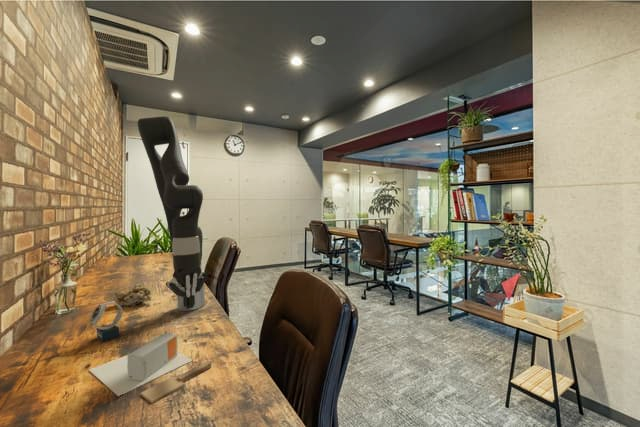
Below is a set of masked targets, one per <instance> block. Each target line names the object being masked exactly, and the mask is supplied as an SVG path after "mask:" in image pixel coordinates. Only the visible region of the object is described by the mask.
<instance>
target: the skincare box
mask: <svg viewBox="0 0 640 427" xmlns="http://www.w3.org/2000/svg"><path fill="white" fill-rule="evenodd" d="M177 352H178V334H176V333H162V334H160V335H159V336H157V337H155V338H153V339H152V340H151V341H148V342H147V343H145V344H144V345H142V346H140V347H138V348H137V349H135V350H134V351H131V352H130V353H129V354H127V355H128V364H127V369H128V380H136V381H144V380H145V379H146V378H148V377H149V376H150V375H152V374H153V373H154V372H156V371H157V370H158V369H160V368H161V367H163V366H164V365H165V364H167V363H168V362H169V361H171V360H172V359H173V358H175V357H176V356H177Z"/></svg>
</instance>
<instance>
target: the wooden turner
mask: <svg viewBox="0 0 640 427" xmlns="http://www.w3.org/2000/svg"><path fill="white" fill-rule="evenodd" d="M211 367H212V362H210V361H209V360H208V361H205V362H203V363H201V364H199V365H197V366H195V367H193V368H191V369H190V370H187V371H186V372H184V373H182V374H180V375H178V376H175V377H174V376H171V377H169V378H167V379H165V380H164V381H163V380H162V381H161V382H159V383H157V384H155V385H153V386H151V387H150V388H148V389H145V390H144V391H142V392H140V395H141V397H143V398H144V399H145V400H147V401H148V402H149V403H151V404H154V403H157V402H158V401H160V400H161V399H163V398H165V397H167V396H169V395H171V394H172V393H175V392H177V391H178V390H180V389H182V388H184V387H185V382H186V381H188V380H190V379H191V378H194V377H195V376H197V375H200V374H201V373H202V372H204V371H207V370H209V368H211Z"/></svg>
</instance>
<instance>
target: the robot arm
mask: <svg viewBox="0 0 640 427" xmlns="http://www.w3.org/2000/svg"><path fill="white" fill-rule="evenodd" d="M175 126H176V125H175V124H174V122H173V120H172V118H170V117H169V116H153V117H144V118H143V117H142V118H139V119H138V120H137V129H138V131H139V132H138V133H139V135H140V139H141V141H142V144H143V146H144V149H145V152H146V155H147V158H148V161H149V162H150V167H151V169H152V173H153V177H154V181H155V184H156V189H157V192H158V195H159V198H160V201H161V203H162V207H163V211H164V214H165V217H166V218H165V219H166V222H167V228H168V232H169V234H168V235H169V239H170V242H171V244H172V245H171V247H172V265H173V274H172V278H171V279H170V280H169V281H166V282H165V285H166V287H167V288H168V289H169V290H170V291H172V292H173V293H174V294H175V295H176V296H177V310H178V311H181V312H182V311H183V312H184V311H185V312H186V311H188V312H189V311H194V310H197V309H200V308H202V307H203V306H205V305H206V304H205V303H206V301H205V283H206V281H207V278H208V277H209V274H208V273H205V272H204V271H202V261H203V260H202V257H203V241H204V240H203V239H204V238H203V232H202V228H201V227H200V226H199V217H200V213H201V212H200V211H201V208H202V204H203V201H204V195H203V194H204V193H203V191H202V189H201V187H199V186H198V185H193V184H191V185H190V184H189V183H190V176H189V175H190V174H189V173H188V170H187V167H186V165H185V162H184V160H183V157H182V156H183V155H182V151H181V150H182V149H181V145H180V141H179V137H178V132H177V130H176V129H177V128H176V127H175ZM162 145H163V146H164V145H167V147H166V149H165V151H164V153H163V155H162V156H161V155H160V154H159V152H158V151H157V149H156V146H162ZM185 209H188V210H187V212H186V214H184V215H182V211H183V210H185Z"/></svg>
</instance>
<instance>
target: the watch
mask: <svg viewBox="0 0 640 427" xmlns="http://www.w3.org/2000/svg"><path fill="white" fill-rule="evenodd" d="M109 305H114V306H115V305H117V306H116V307H117V308H118V310H117V312H116V316H115V318H114V319H113V321H112V323H110V324H106V325H103V326H98V325H97V324H98V322H99V321H100V320H101V319H102V317H103V316H104V314H105V310H106V309H107V307H108V306H109ZM123 313H124V312H123V307H122V306H120V305H118V304H117V303H116V302H115V301H114V302H113V301H106V302H103V303H101V304H99V305H97V306H96V307H95V308H94V310H92V313H91V316H90V322H91V324H92V325H93V326H94V327H95V328H96V338H97V340H99V341H100V342H101V343H106V342H109V341H113V340H115V339H119V338H120V328H119V326H117V325H118V323H119V322H120V321H121V319H122V316H123Z"/></svg>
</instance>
